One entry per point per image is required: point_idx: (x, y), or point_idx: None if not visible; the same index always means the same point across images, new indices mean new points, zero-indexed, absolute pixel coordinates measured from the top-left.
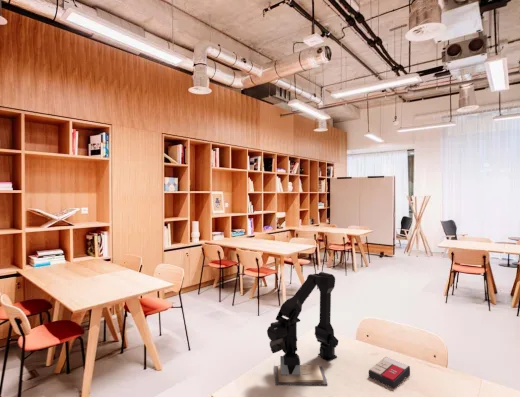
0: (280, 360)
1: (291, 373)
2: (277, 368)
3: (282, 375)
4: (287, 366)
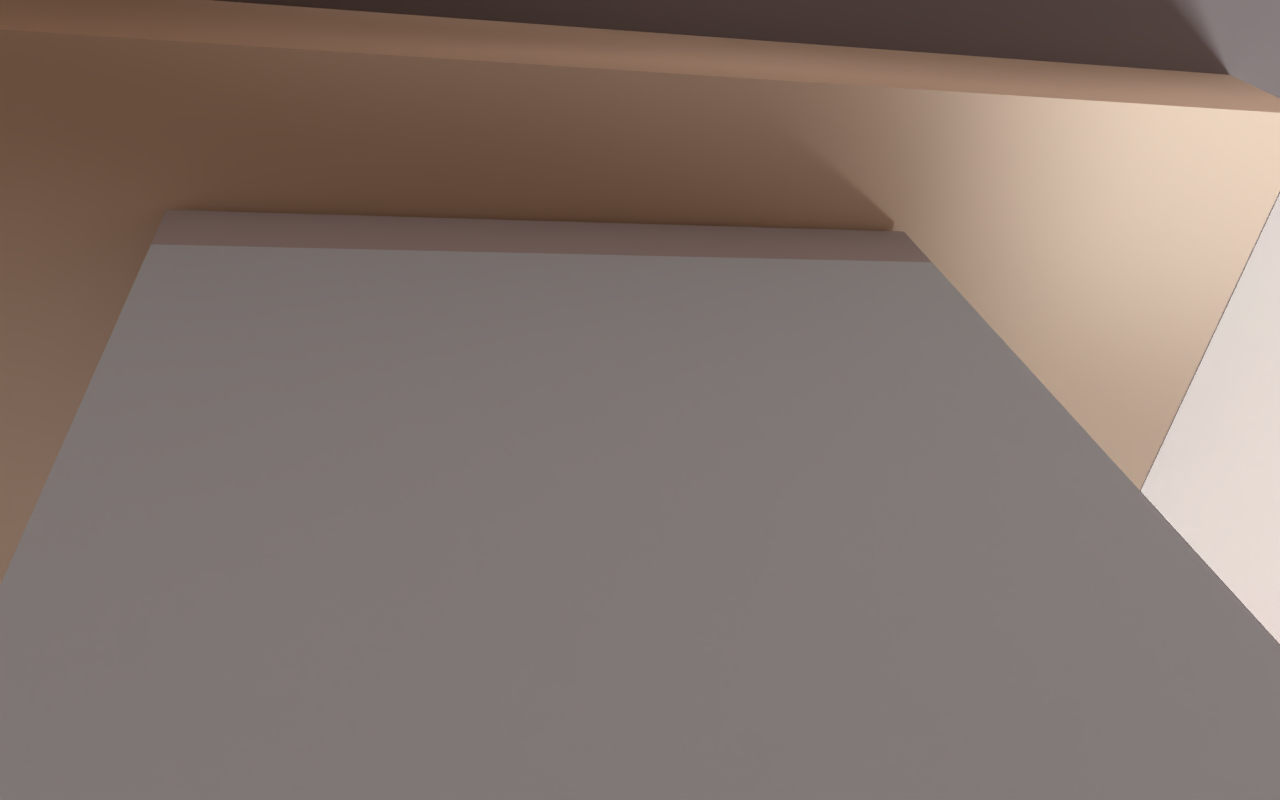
0: (1130, 612)
1: None
2: (1116, 43)
3: None
4: None
